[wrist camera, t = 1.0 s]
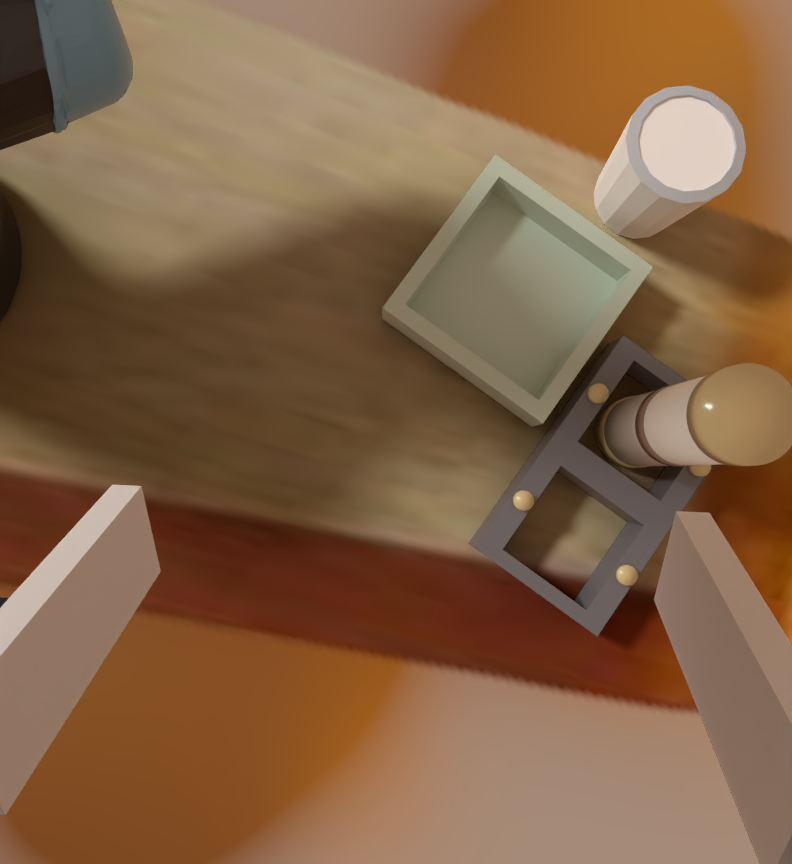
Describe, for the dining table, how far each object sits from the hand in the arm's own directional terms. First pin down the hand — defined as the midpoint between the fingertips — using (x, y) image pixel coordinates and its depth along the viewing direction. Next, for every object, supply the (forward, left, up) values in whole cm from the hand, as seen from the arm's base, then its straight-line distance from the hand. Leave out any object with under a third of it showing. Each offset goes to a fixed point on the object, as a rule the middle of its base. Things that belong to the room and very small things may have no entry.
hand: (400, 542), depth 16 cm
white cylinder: (+2, +26, -25) cm, 36 cm away
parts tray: (-1, +15, -24) cm, 29 cm away
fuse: (+10, +13, -24) cm, 29 cm away
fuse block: (+10, +9, -24) cm, 28 cm away
